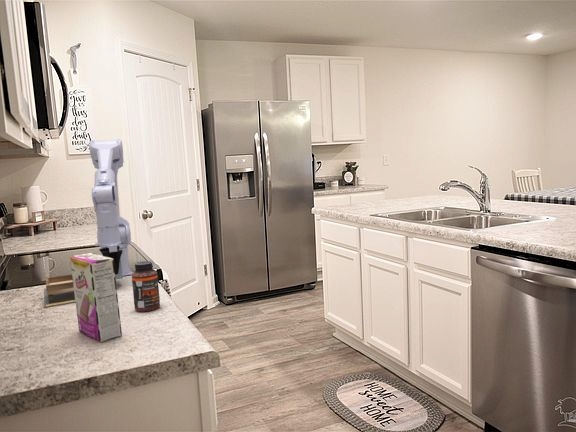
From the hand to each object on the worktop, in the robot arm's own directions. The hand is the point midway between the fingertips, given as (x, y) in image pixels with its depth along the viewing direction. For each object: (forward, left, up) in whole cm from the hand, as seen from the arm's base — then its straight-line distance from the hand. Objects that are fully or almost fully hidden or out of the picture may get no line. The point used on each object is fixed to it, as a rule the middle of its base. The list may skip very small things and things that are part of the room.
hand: (113, 272), depth 141 cm
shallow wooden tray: (+5, -12, -4) cm, 14 cm away
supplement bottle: (+30, +4, -4) cm, 31 cm away
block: (0, 0, -2) cm, 2 cm away
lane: (+1, -12, -4) cm, 13 cm away
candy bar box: (+42, -8, -4) cm, 43 cm away
